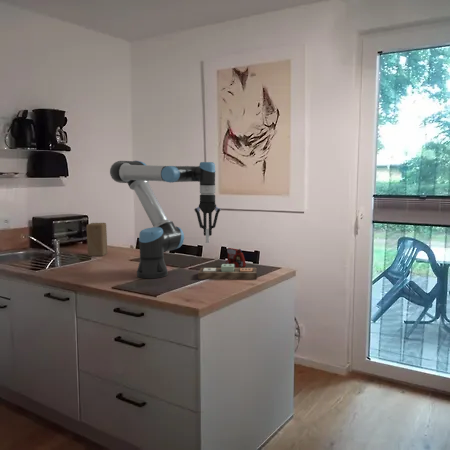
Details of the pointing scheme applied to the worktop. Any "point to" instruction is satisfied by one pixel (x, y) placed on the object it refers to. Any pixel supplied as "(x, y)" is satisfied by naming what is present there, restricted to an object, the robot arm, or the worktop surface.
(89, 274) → the worktop surface
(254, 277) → the board
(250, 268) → the tile
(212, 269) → the tile
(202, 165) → the robot arm
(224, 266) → the tile
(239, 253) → the toy fire truck
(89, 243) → the wooden block
